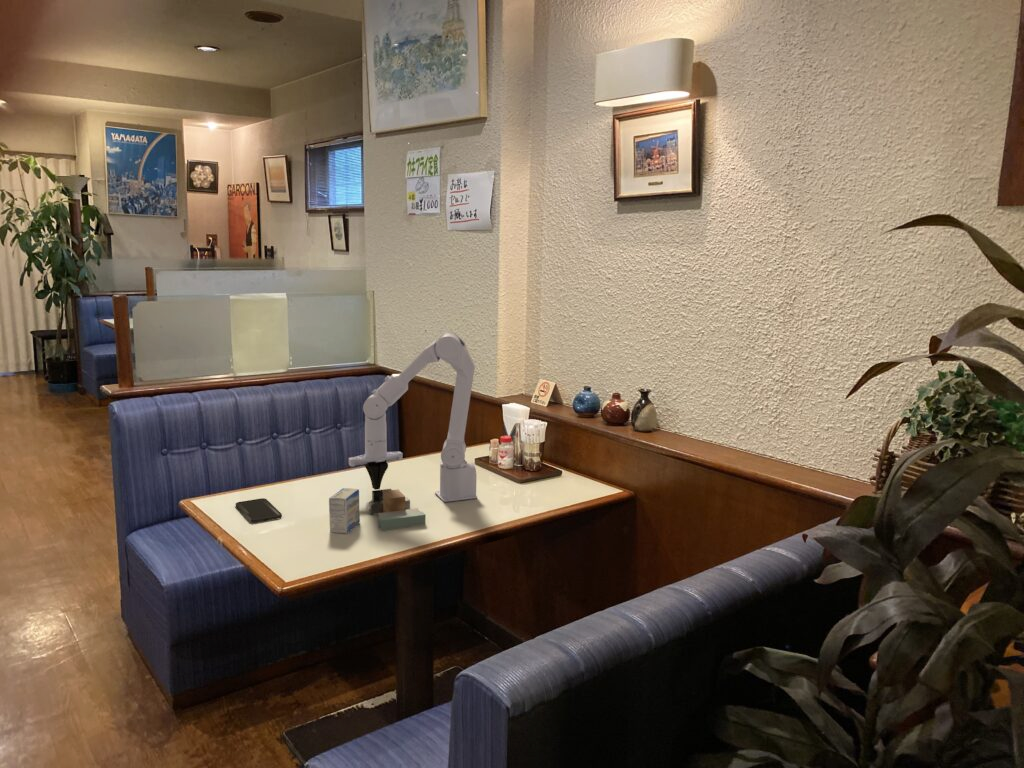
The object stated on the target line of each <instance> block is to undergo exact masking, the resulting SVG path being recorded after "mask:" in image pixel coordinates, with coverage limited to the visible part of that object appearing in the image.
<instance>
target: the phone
mask: <svg viewBox="0 0 1024 768" xmlns="http://www.w3.org/2000/svg"><path fill="white" fill-rule="evenodd" d="M236 507H237V508H236ZM235 508H236V509H237V510H238V511H239V513H240V514H242V515H243V516H245V517H244V518H245V519H246V520H247V521H248V522H249V524H258V522H259V523H263V522H268V521H267V520H270V521H273V520H272V519H275V520H278V519H277V518H280V519H282V518H283V514H282V512H281V511H280V510H278V509H277V508H276V506H274V505H273V504H272V503H271V502H270V501H269V500H268V499H267V498H256V499H249V500H244V501H238V502H235ZM281 517H282V518H281ZM262 521H263V522H262Z"/></svg>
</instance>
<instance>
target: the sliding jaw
mask: <svg viewBox="0 0 1024 768" xmlns="http://www.w3.org/2000/svg"><path fill="white" fill-rule="evenodd" d="M388 490H393V489H392V488H385V489H384V488H383V489H377V490H375V489H374V490H372V491H371V492H372V493H371V495H372V496H371V499H372V500H371V501H369V502H368V512H369V513H370V515H378V513H383V491H388ZM408 509H411V500H410V499H409V498H408V497H406V496H405V510H408Z"/></svg>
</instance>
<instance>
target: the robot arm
mask: <svg viewBox="0 0 1024 768" xmlns="http://www.w3.org/2000/svg"><path fill="white" fill-rule="evenodd" d="M440 359H441V360H442V361H444V362H445V363H448V364H449V365H450V366H451V367H452V369H453V370H454V372H455V373H456V376H455V383H454V390H453V396H452V397H453V398H452V404H451V411H450V418H449V424H448V431H447V437H446V439H445V440H444V443H443V444H442V450H441V453H440V459H441V461H440V463H439V490H437V491H434V494H435V495H436V496H437V497H438V498H439V499H441V501H443V503H449V502H457V501H464V500H472V499H473V500H474V499H477V498H478V495H477V470H476V469H477V468H476V466H475V464H474V463H473V462H468V461H466V459H465V457H466V451H467V445H466V442H465V435H466V427H467V421H468V413H469V407H470V403H471V402H470V401H471V395H472V389H473V388H472V387H473V381H474V375H475V370H476V369H475V367H476V366H475V362H474V360H473V358H472V357H471V354H470V352H469V350H468V348H467V346H466V342H465V341H464V340H463V339H462V338H461V337H460V336H459V335H458V334H457V333H455V332H452V331H450V332H449V331H447V332H445V333H443V334H442V335H440V336H439V338H438V339H435V340H434V341H432V342H431V343H430V344H428V345H427V346H425V348H424V349H422V350H421V352H420V353H418V355H417V356H416V357H415V358H414V359H413V360H412V361H411V362H409V364H408V365H407V367H405V369H403V370H402V371H401V372H400V373H392V374H391V375H387V376H386V377H384V381H383V383H382V384H381V385H380V386H379V387H378V388H375V389H373V390H372V391H371V393H372V394H371V395H369V396H368V397H367V399H366V400H365V401H364V402H363V405H362V406H363V407H362V411H363V413H364V420H365V421H364V454H360V455H357V456H352V457H348V465H349V466H350V467H355V466H360V465H364V467H365V469H366V471H367V473H368V475H369V479H370V482H371V487H372V489H373V490H374V491H375V490H381V485H382V481H383V478H384V475H385V473H386V471H387V470H388V468H389V463H388V462H390V461H397V460H398V461H403V459H404V458H403V454H404V453H403V452H401V451H388V449H387V447H388V446H387V444H388V443H387V441H388V440H387V439H388V438H387V428H388V427H387V413H386V411H387V410H388V408H389V407H391V406H393V405H394V404H395V403H396V402H397V401H398V400H400V399H401V397H402V396H403V395H404V394H406V392H407V391H408V390H409V382H410V381H411V380H412V379H414V378H415V377H416V376H417V375H418V374H419V373H420V372H421V371H422V370H424V368H426V367H427V366H428V364H430V363H431V364H432V363H438V362H439V361H440Z"/></svg>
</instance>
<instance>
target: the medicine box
mask: <svg viewBox="0 0 1024 768" xmlns="http://www.w3.org/2000/svg"><path fill="white" fill-rule="evenodd" d="M328 510H329V511H328V513H329V514H328V515H329V517H328V518H329V533H334V532H336V533H335V534H344V533H347V534H349V533H350V532H351V531H352V530H354V528H355V527H356V526H357V525H358V524H360V520H361V518H360V516H361V515H360V489H357V488H352V487H351V488H349V487H343V488H341V489H340V490H339V491H337V492H335V493H334V494H333V495H332V496H330V497H329V498H328ZM351 529H352V530H351ZM350 530H351V531H350ZM349 531H350V532H349Z"/></svg>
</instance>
